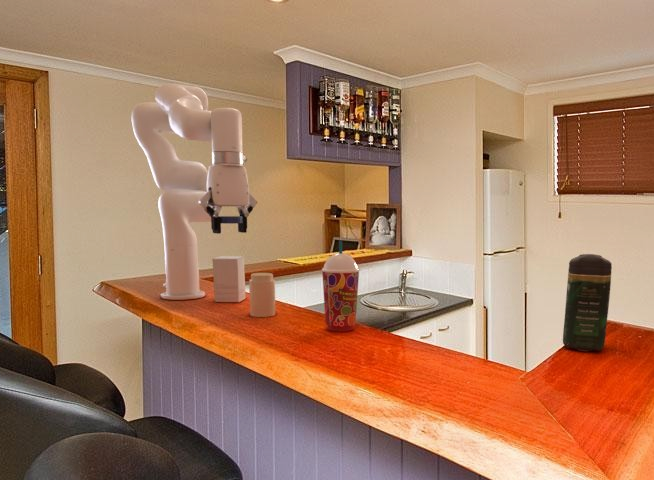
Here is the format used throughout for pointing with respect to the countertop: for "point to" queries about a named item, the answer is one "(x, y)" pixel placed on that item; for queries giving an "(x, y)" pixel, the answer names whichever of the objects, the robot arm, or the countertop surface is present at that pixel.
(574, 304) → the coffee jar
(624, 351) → the countertop surface
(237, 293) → the white packaging box
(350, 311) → the smoothie
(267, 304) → the jar
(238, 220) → the jar lid
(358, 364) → the countertop surface
